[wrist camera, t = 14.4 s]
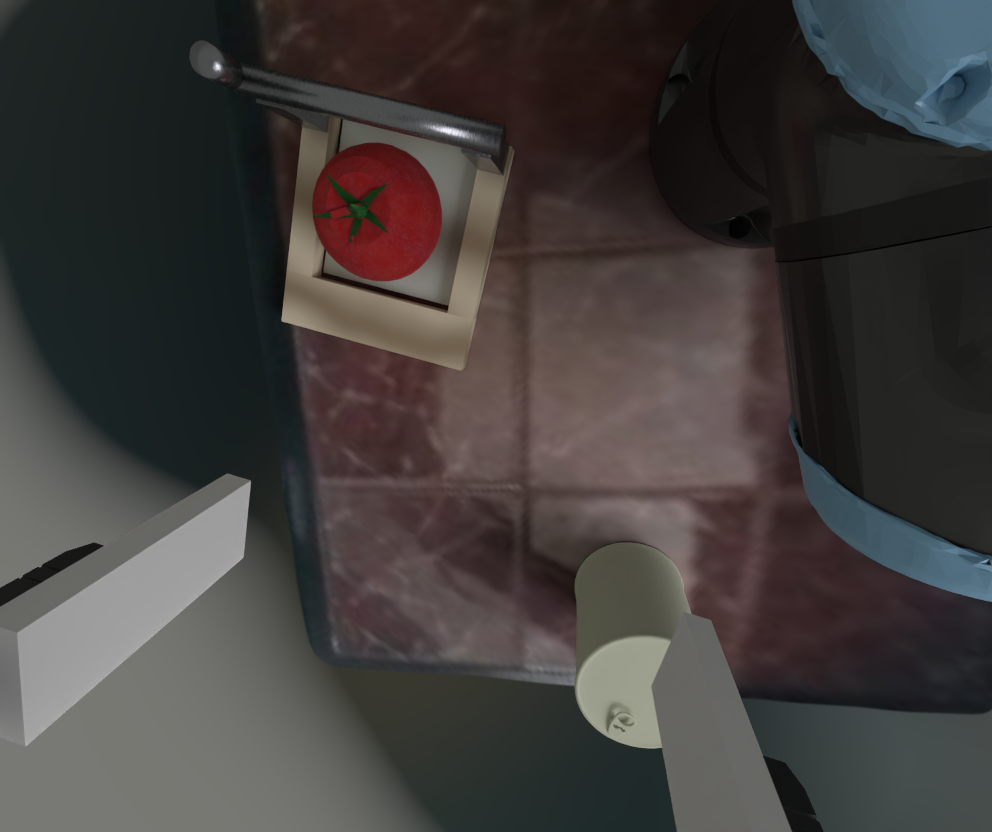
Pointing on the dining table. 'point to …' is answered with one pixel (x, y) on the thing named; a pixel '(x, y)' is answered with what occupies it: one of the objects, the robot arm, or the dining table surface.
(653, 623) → the can
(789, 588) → the dining table surface
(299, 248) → the beige flat square frame
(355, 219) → the tomato
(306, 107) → the grey curved bar
